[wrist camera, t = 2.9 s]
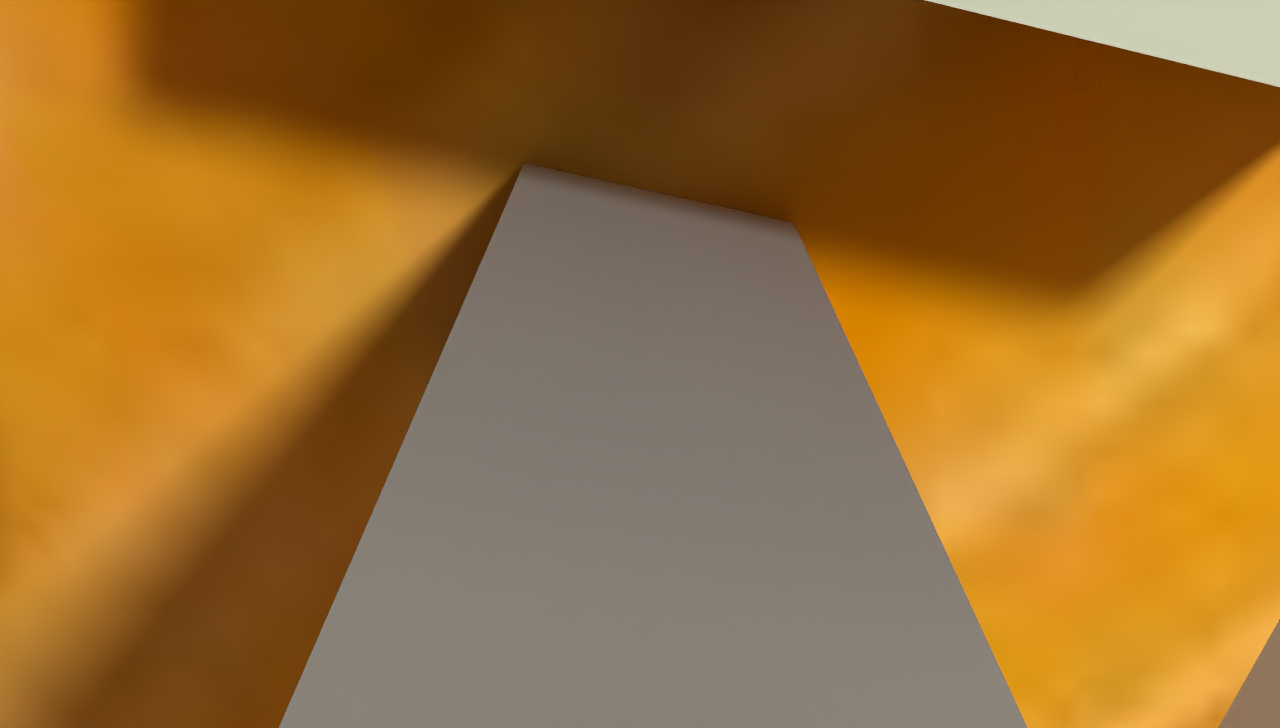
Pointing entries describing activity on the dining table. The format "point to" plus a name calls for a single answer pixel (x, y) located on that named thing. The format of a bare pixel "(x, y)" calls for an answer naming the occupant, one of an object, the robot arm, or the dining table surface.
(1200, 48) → the walled box
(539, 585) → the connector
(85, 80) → the dining table surface
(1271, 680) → the robot arm
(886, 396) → the dining table surface
